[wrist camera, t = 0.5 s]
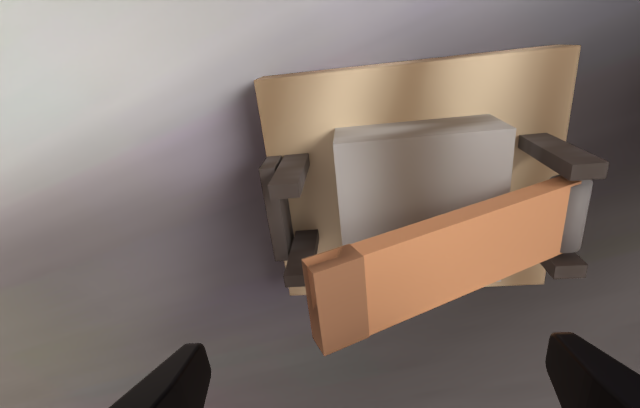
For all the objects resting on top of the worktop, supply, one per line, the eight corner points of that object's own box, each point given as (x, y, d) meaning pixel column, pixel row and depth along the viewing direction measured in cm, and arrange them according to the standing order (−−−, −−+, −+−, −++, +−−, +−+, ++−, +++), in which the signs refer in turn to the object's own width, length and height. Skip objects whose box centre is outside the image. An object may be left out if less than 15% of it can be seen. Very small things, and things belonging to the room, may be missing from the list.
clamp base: (556, 44, 17) (664, 47, 12) (527, 263, 22) (593, 346, 16) (262, 76, 19) (223, 93, 13) (294, 275, 24) (276, 354, 18)
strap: (566, 169, 15) (602, 178, 14) (555, 234, 16) (588, 248, 15) (298, 255, 11) (316, 278, 10) (309, 333, 12) (328, 361, 11)
